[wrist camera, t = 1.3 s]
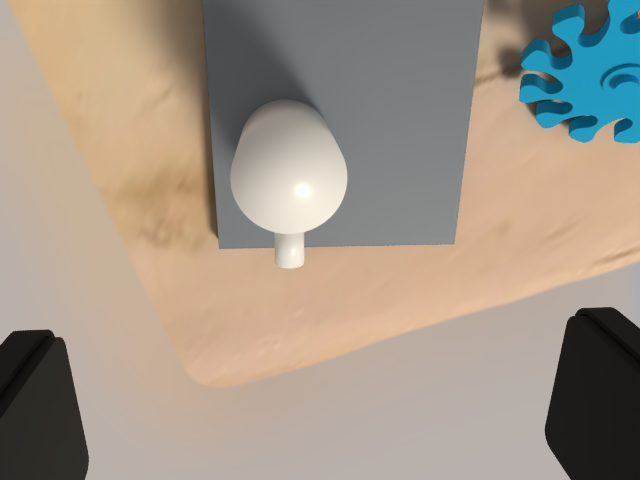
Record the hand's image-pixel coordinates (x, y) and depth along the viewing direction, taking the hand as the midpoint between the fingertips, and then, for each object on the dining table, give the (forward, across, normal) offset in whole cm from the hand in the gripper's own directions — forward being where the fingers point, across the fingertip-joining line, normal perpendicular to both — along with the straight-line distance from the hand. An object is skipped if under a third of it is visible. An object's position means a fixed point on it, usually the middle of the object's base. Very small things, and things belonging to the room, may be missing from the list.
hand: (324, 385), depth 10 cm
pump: (+20, 0, 0) cm, 20 cm away
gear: (+21, -17, -4) cm, 27 cm away
